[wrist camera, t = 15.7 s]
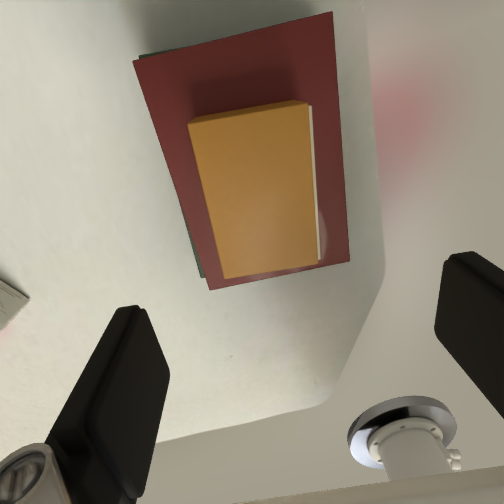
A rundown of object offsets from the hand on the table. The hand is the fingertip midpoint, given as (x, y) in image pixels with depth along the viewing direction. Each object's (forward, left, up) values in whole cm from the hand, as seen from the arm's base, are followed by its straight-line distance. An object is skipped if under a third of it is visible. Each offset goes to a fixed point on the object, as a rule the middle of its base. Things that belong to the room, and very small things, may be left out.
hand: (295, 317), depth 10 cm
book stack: (0, 0, -21) cm, 21 cm away
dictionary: (0, 0, -14) cm, 14 cm away
